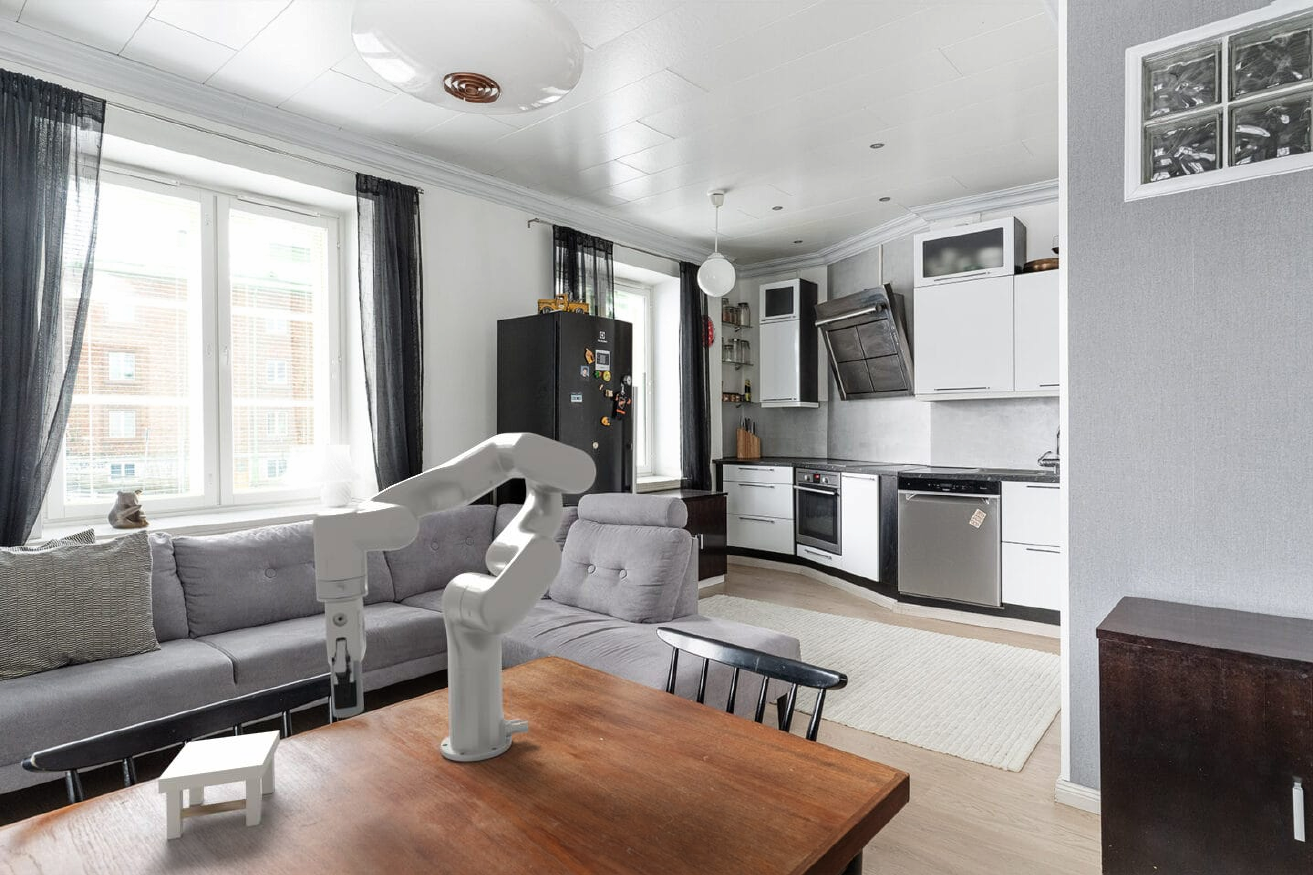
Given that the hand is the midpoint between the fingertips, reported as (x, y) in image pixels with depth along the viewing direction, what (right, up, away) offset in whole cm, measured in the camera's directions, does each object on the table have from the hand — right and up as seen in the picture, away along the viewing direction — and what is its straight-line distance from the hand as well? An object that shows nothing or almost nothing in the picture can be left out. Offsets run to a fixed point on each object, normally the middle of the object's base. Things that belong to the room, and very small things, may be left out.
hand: (347, 700), depth 113 cm
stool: (-17, -15, -5) cm, 23 cm away
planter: (0, -2, 0) cm, 2 cm away
